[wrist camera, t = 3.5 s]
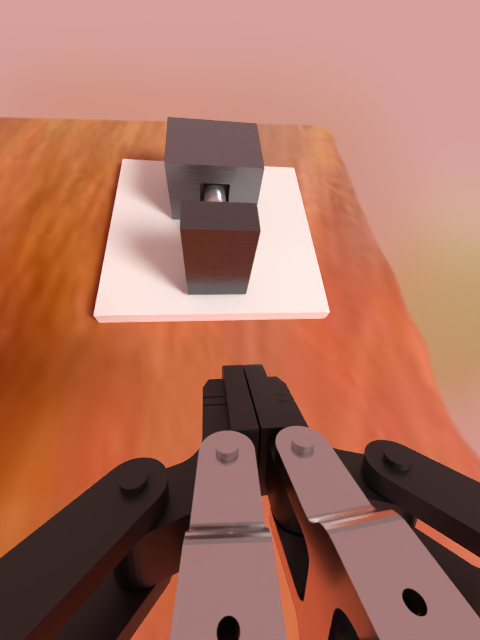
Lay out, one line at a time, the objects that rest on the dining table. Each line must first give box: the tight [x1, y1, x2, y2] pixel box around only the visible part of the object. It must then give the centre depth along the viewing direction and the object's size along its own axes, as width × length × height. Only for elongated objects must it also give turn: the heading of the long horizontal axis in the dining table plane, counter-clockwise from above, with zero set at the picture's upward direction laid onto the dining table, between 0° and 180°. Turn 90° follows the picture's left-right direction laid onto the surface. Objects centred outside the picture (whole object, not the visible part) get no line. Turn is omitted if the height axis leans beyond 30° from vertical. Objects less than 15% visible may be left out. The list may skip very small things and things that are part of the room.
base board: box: [93, 159, 330, 323], centre depth 34 cm, size 24×24×2 cm
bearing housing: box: [164, 117, 264, 220], centre depth 32 cm, size 10×8×7 cm
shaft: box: [180, 183, 261, 295], centre depth 29 cm, size 6×20×9 cm, turn 4°
